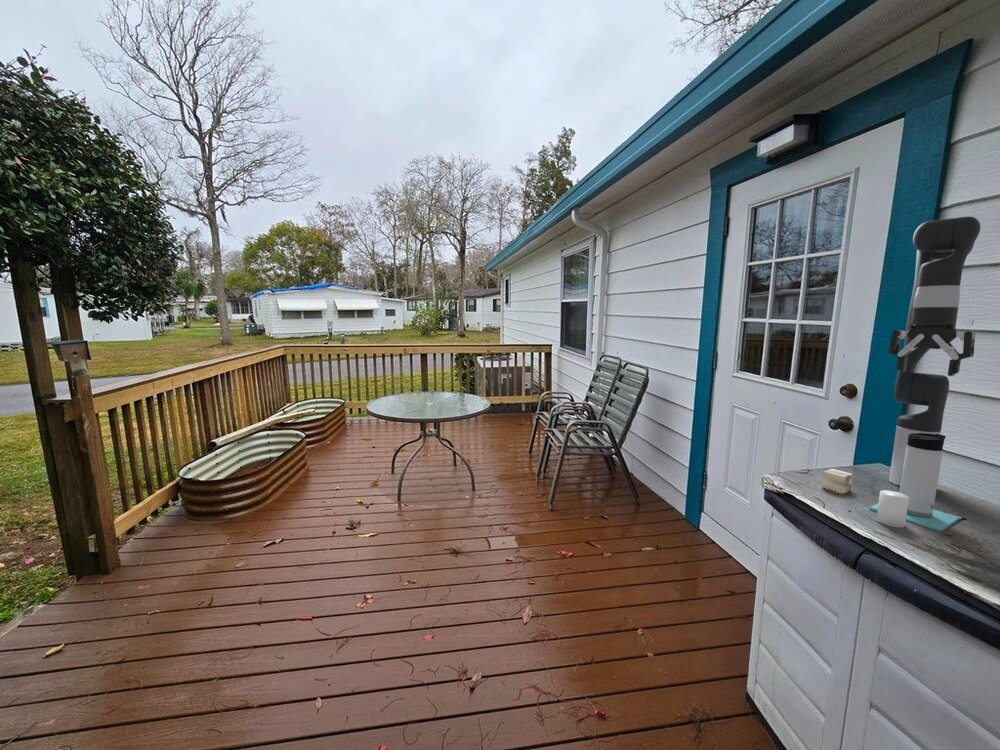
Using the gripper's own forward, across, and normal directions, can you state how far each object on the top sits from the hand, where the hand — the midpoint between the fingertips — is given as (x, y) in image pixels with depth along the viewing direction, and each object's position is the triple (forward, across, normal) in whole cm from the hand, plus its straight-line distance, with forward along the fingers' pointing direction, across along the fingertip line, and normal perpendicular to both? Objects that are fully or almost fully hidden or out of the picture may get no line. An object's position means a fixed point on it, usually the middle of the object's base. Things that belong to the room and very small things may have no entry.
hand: (925, 373), depth 102 cm
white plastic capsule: (+35, 0, +12) cm, 37 cm away
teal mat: (+35, -1, 0) cm, 35 cm away
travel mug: (+35, -2, 0) cm, 35 cm away
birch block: (+35, +16, -2) cm, 39 cm away
